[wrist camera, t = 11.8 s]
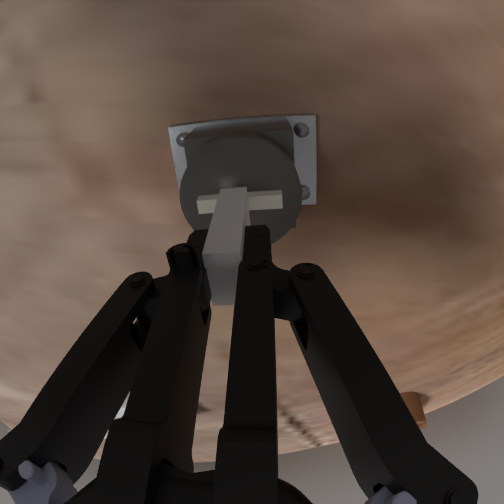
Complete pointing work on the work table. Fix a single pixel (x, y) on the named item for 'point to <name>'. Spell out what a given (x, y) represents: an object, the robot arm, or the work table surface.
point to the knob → (243, 173)
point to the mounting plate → (299, 122)
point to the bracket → (415, 407)
